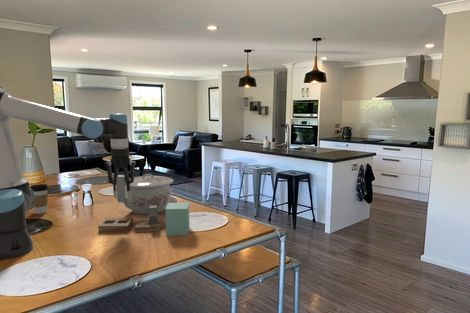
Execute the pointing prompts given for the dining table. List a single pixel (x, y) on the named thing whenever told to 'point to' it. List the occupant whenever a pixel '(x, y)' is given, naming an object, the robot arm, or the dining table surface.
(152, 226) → the board
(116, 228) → the build board
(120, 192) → the pin
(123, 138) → the robot arm
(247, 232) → the dining table surface
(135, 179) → the chamber pot
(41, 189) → the coffee cup
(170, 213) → the block
